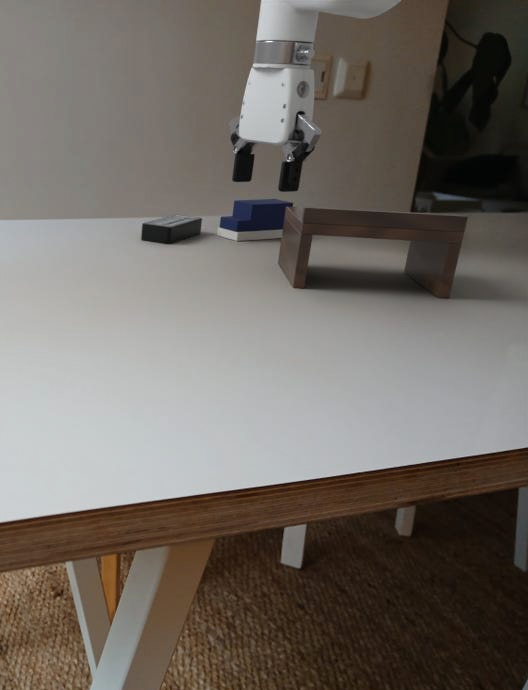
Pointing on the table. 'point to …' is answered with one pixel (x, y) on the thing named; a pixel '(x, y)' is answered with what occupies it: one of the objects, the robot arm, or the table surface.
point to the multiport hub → (171, 228)
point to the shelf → (419, 228)
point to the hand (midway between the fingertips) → (263, 186)
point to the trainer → (254, 220)
